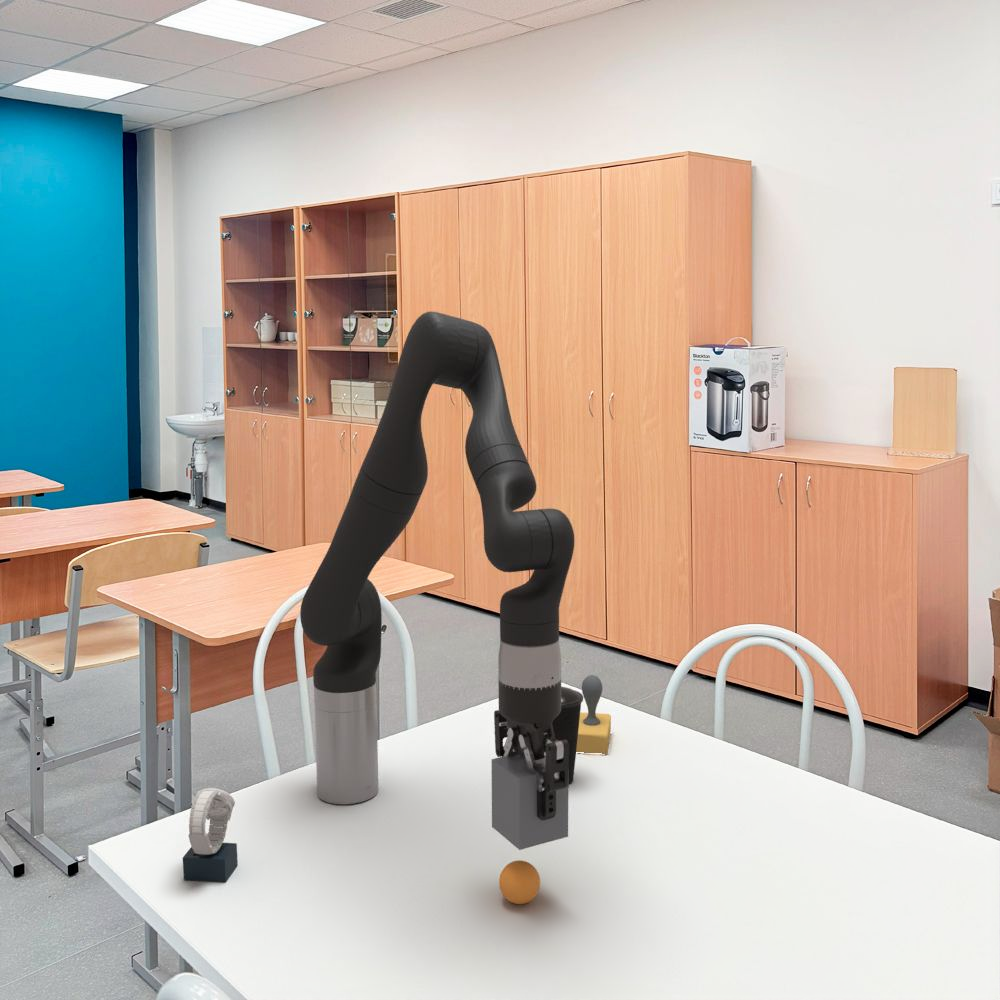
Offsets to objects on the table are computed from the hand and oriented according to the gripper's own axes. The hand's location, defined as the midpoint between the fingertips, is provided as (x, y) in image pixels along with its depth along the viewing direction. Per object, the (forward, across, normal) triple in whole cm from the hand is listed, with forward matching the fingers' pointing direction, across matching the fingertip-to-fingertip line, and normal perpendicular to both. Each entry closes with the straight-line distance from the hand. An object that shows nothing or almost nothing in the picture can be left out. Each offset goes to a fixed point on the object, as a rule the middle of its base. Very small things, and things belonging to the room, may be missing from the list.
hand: (530, 805), depth 127 cm
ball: (+9, 0, +2) cm, 9 cm away
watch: (+12, +25, +33) cm, 43 cm away
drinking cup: (+12, +27, -21) cm, 36 cm away
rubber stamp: (+12, +37, -34) cm, 52 cm away
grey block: (+3, 0, 0) cm, 3 cm away
